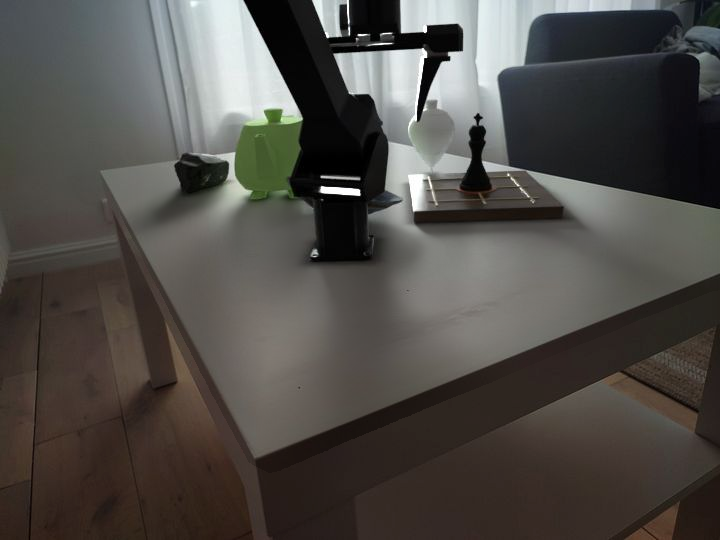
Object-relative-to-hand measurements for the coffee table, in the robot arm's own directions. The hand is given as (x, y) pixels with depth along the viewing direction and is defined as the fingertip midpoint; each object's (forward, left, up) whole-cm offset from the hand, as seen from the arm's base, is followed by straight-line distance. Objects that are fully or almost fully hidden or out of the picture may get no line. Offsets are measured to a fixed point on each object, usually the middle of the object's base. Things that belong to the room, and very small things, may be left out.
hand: (378, 123), depth 62 cm
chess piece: (+9, -13, -11) cm, 19 cm away
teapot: (+17, +16, -12) cm, 26 cm away
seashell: (+2, +5, -12) cm, 13 cm away
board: (+9, -13, -12) cm, 20 cm away
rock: (+23, +30, -12) cm, 40 cm away
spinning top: (+26, -8, -12) cm, 30 cm away
